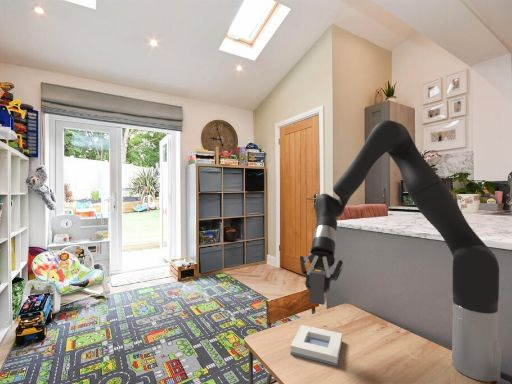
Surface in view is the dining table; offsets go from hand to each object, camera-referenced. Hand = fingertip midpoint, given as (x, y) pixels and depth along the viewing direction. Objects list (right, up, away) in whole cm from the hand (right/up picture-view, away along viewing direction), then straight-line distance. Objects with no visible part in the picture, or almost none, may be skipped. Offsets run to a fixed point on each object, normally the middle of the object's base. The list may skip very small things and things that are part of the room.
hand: (316, 289), depth 79 cm
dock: (+1, -18, +2) cm, 18 cm away
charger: (+1, -4, +2) cm, 5 cm away
